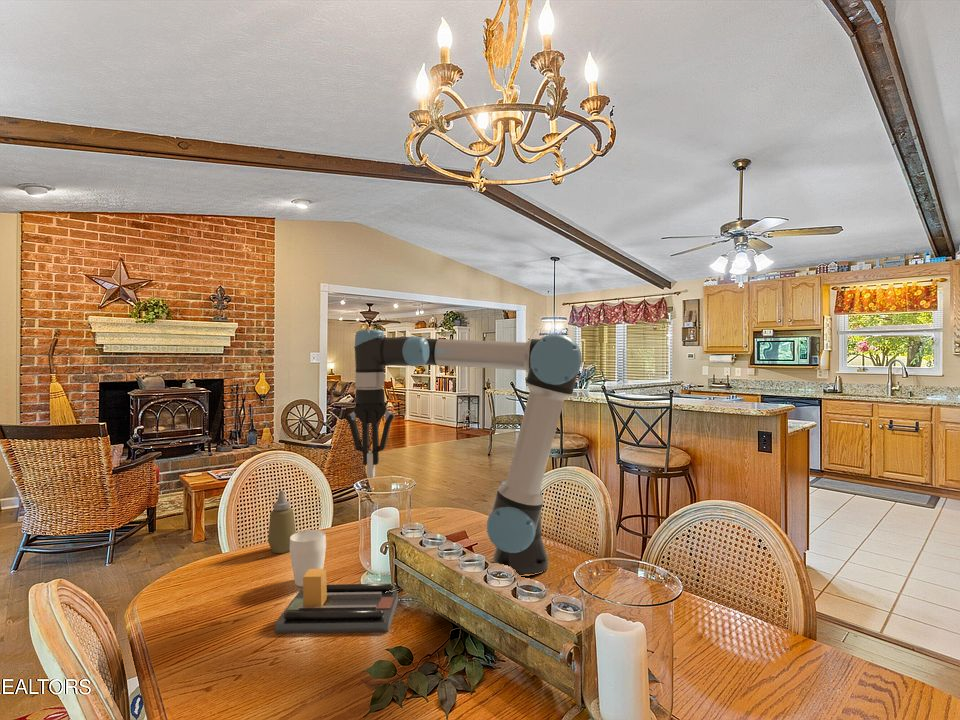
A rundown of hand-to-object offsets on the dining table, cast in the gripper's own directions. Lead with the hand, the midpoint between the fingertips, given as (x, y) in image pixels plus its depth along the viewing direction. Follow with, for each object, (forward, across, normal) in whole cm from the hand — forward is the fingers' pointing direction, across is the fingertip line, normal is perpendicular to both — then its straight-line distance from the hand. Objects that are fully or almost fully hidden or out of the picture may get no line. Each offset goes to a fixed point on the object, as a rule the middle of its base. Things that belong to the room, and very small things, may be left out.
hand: (371, 476), depth 132 cm
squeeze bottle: (+27, +31, -18) cm, 45 cm away
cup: (+27, +16, +3) cm, 31 cm away
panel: (+26, +3, +19) cm, 33 cm away
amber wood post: (+24, +9, +19) cm, 32 cm away
